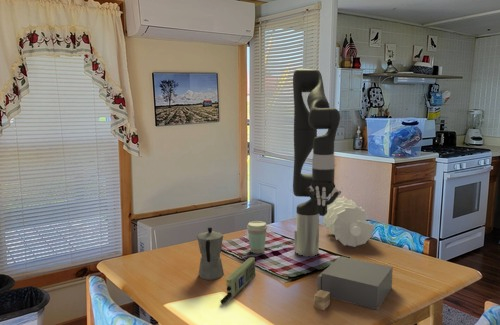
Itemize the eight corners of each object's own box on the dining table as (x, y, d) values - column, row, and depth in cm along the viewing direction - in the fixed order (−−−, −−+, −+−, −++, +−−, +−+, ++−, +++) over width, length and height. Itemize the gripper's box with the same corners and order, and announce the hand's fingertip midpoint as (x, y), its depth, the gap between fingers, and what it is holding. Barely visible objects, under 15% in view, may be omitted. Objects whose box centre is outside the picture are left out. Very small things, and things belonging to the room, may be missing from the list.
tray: (316, 290, 133) (316, 275, 132) (336, 271, 148) (336, 258, 147) (371, 304, 123) (371, 289, 123) (387, 283, 138) (387, 268, 137)
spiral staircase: (344, 258, 174) (329, 236, 198) (382, 240, 173) (362, 220, 198) (327, 222, 170) (314, 204, 194) (366, 203, 169) (347, 187, 194)
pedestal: (314, 307, 125) (314, 295, 124) (320, 301, 128) (320, 289, 128) (323, 310, 123) (324, 297, 122) (329, 304, 127) (329, 292, 126)
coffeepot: (200, 267, 156) (199, 222, 153) (225, 267, 156) (224, 222, 153) (195, 285, 141) (193, 235, 138) (222, 285, 141) (220, 235, 138)
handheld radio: (257, 275, 149) (227, 306, 126) (248, 274, 150) (217, 305, 128) (256, 257, 148) (226, 286, 126) (247, 256, 150) (216, 285, 127)
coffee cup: (271, 249, 174) (270, 222, 172) (260, 256, 167) (260, 227, 165) (254, 246, 178) (253, 219, 177) (243, 252, 171) (242, 224, 169)
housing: (321, 295, 133) (321, 273, 132) (340, 276, 147) (341, 256, 146) (376, 309, 123) (377, 286, 122) (391, 288, 137) (392, 266, 136)
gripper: (301, 166, 141) (300, 215, 143) (337, 170, 133) (336, 221, 136) (310, 163, 147) (310, 210, 149) (345, 166, 139) (344, 215, 142)
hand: (322, 215), depth 143 cm, fingers closed
